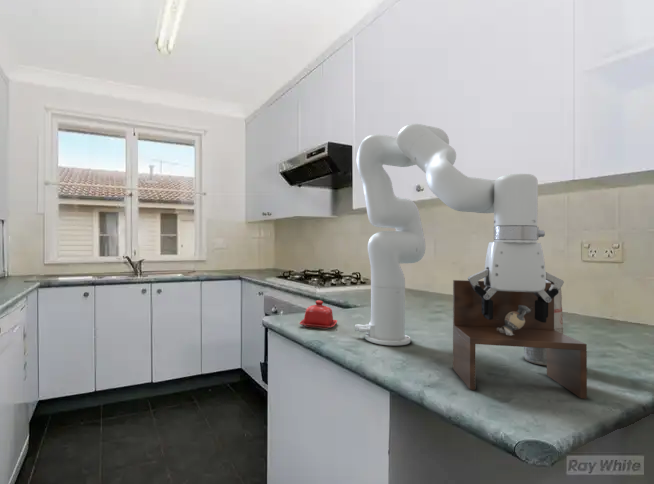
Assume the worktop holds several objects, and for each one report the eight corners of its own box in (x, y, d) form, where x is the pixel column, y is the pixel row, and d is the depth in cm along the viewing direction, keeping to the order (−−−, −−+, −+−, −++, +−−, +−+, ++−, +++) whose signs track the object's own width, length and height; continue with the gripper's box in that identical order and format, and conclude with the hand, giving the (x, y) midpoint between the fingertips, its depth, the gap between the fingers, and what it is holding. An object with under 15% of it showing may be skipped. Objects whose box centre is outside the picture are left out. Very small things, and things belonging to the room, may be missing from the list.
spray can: (546, 369, 84) (546, 280, 85) (514, 358, 92) (514, 277, 93) (574, 366, 87) (573, 280, 87) (540, 355, 95) (540, 276, 95)
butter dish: (338, 323, 129) (338, 298, 129) (333, 331, 118) (333, 304, 118) (306, 320, 133) (306, 297, 133) (298, 328, 122) (298, 301, 122)
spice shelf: (469, 389, 72) (470, 286, 72) (452, 368, 84) (453, 279, 84) (587, 398, 68) (586, 289, 69) (551, 375, 80) (551, 282, 81)
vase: (524, 332, 77) (524, 303, 77) (537, 339, 72) (537, 307, 72) (496, 330, 78) (496, 302, 78) (507, 337, 73) (507, 306, 73)
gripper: (552, 236, 78) (551, 318, 78) (463, 235, 81) (462, 313, 81) (573, 236, 71) (572, 326, 70) (475, 234, 74) (474, 321, 74)
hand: (513, 319), depth 76 cm, fingers open, 9 cm apart
